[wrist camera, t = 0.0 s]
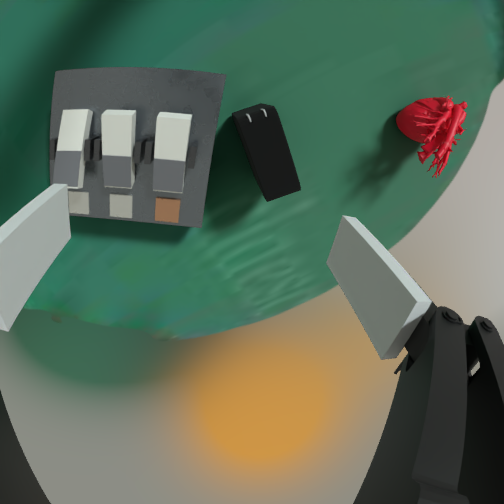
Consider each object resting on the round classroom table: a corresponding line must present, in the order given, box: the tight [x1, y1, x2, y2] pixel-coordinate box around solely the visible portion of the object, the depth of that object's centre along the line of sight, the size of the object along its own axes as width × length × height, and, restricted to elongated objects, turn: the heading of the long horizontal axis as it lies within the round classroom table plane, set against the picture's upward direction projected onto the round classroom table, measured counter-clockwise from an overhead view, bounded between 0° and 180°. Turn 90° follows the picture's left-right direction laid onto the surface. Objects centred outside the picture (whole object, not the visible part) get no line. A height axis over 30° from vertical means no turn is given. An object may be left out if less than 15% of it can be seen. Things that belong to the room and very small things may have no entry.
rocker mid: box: [101, 110, 136, 189], centre depth 29 cm, size 9×3×2 cm, turn 170°
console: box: [50, 67, 226, 228], centre depth 32 cm, size 19×21×9 cm
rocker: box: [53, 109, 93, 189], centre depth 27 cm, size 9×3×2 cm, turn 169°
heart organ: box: [396, 96, 467, 178], centre depth 33 cm, size 10×12×12 cm
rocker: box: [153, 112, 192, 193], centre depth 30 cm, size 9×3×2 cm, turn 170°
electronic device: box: [232, 103, 301, 202], centre depth 34 cm, size 4×10×10 cm, turn 19°
